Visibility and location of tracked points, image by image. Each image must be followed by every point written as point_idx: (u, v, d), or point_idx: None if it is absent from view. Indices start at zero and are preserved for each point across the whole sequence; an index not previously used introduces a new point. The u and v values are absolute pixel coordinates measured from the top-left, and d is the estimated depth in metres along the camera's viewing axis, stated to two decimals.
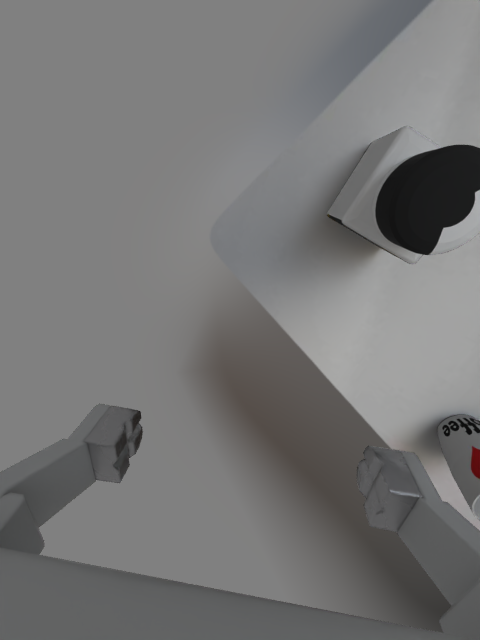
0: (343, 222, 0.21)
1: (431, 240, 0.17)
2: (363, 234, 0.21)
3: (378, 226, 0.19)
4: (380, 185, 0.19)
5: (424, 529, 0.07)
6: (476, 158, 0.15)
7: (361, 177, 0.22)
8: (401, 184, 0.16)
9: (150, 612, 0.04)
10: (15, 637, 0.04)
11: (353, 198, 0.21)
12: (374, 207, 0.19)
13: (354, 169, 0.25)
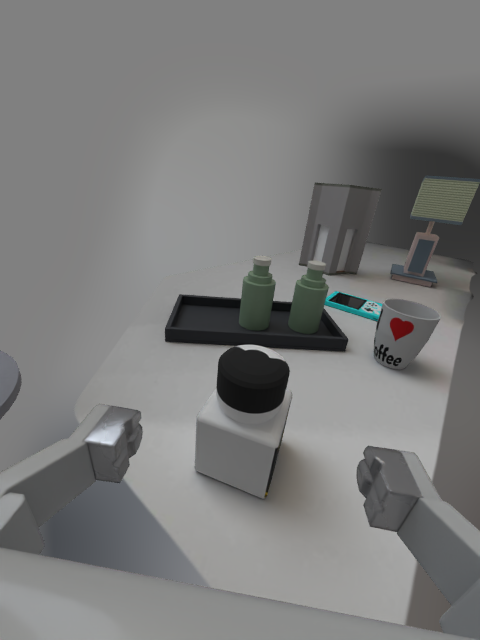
0: (277, 445, 0.21)
1: (279, 361, 0.23)
2: (282, 427, 0.23)
3: (275, 408, 0.22)
4: (243, 416, 0.22)
5: (424, 529, 0.07)
6: (226, 355, 0.23)
7: (232, 451, 0.23)
8: (246, 384, 0.20)
9: (150, 612, 0.04)
10: (15, 637, 0.04)
11: (253, 445, 0.22)
12: (260, 415, 0.22)
13: (218, 479, 0.25)
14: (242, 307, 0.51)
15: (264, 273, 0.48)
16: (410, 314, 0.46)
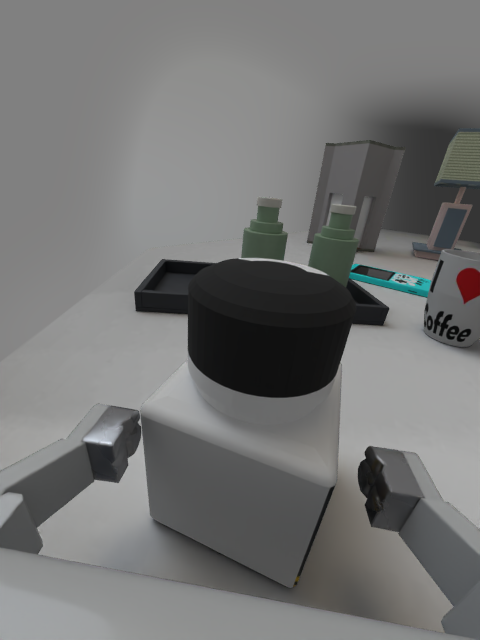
0: (334, 479, 0.08)
1: (330, 278, 0.10)
2: (337, 432, 0.10)
3: (323, 385, 0.09)
4: (246, 403, 0.09)
5: (426, 529, 0.07)
6: (208, 267, 0.10)
7: (221, 487, 0.10)
8: (255, 315, 0.07)
9: (150, 612, 0.04)
10: (15, 637, 0.04)
11: (272, 476, 0.09)
12: (290, 402, 0.09)
13: (196, 540, 0.12)
14: None
15: (272, 219, 0.35)
16: None
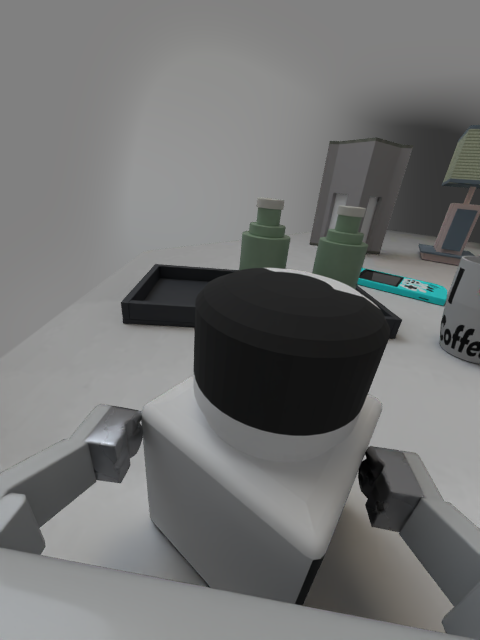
0: (320, 551, 0.06)
1: (361, 300, 0.08)
2: (346, 490, 0.08)
3: (331, 429, 0.07)
4: (234, 430, 0.08)
5: (426, 529, 0.07)
6: None
7: (204, 513, 0.09)
8: (244, 334, 0.06)
9: (150, 612, 0.04)
10: (15, 637, 0.04)
11: (251, 521, 0.07)
12: (283, 441, 0.07)
13: (185, 558, 0.11)
14: None
15: (274, 221, 0.32)
16: None
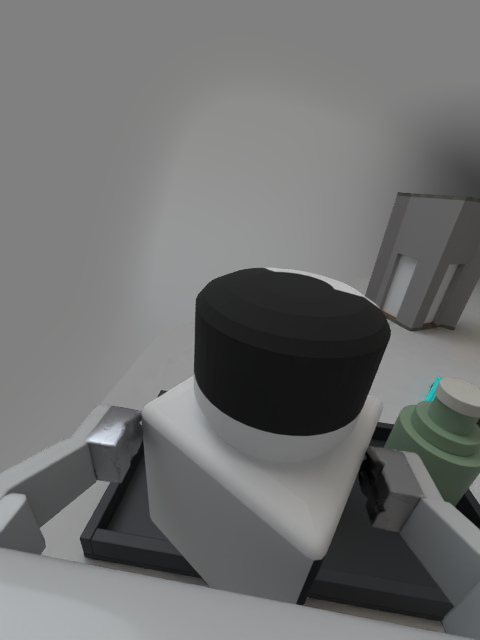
0: (321, 552, 0.06)
1: (361, 300, 0.08)
2: (346, 490, 0.08)
3: (331, 429, 0.07)
4: (234, 430, 0.08)
5: (426, 529, 0.07)
6: (226, 275, 0.10)
7: (205, 514, 0.09)
8: (245, 334, 0.06)
9: (150, 612, 0.04)
10: (15, 637, 0.04)
11: (251, 521, 0.07)
12: (284, 441, 0.07)
13: (185, 558, 0.11)
14: None
15: None
16: None
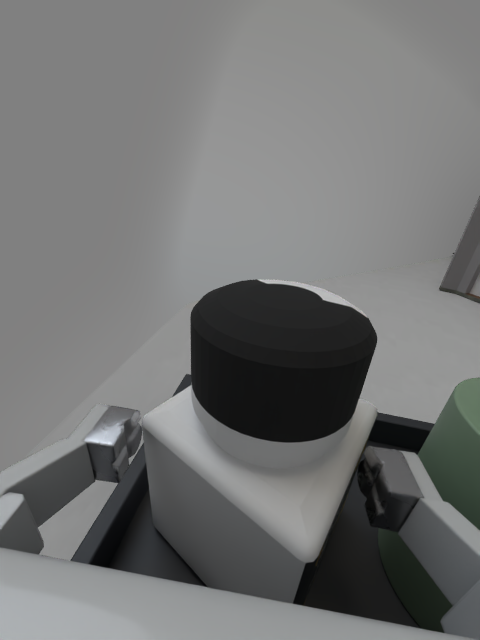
0: (313, 554, 0.07)
1: (349, 310, 0.08)
2: (339, 494, 0.08)
3: (322, 435, 0.08)
4: (229, 438, 0.08)
5: (425, 529, 0.07)
6: (220, 288, 0.10)
7: (204, 519, 0.09)
8: (235, 346, 0.07)
9: (150, 612, 0.04)
10: (15, 637, 0.04)
11: (247, 526, 0.08)
12: (276, 447, 0.08)
13: None
14: None
15: None
16: None
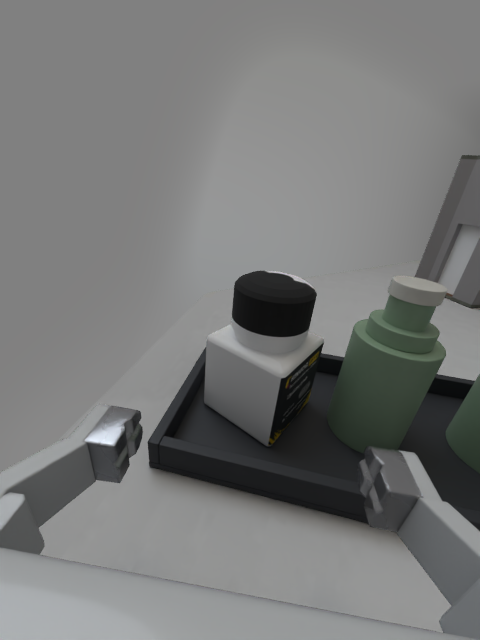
0: (284, 375, 0.18)
1: (304, 284, 0.19)
2: (297, 362, 0.19)
3: (290, 335, 0.19)
4: (251, 337, 0.19)
5: (424, 529, 0.07)
6: (246, 274, 0.21)
7: (237, 380, 0.20)
8: (256, 295, 0.18)
9: (150, 612, 0.04)
10: (15, 637, 0.04)
11: (258, 372, 0.19)
12: (271, 339, 0.19)
13: (224, 416, 0.23)
14: (344, 395, 0.21)
15: (421, 324, 0.18)
16: None
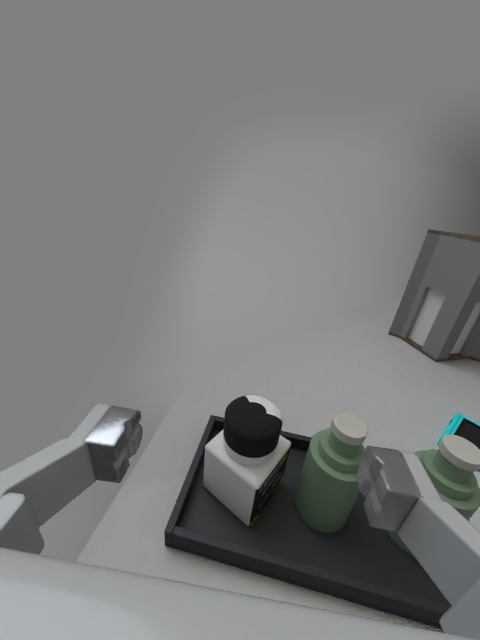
0: (257, 487, 0.26)
1: (273, 418, 0.27)
2: (268, 473, 0.27)
3: (263, 456, 0.27)
4: (236, 455, 0.27)
5: (424, 529, 0.07)
6: (233, 403, 0.29)
7: (226, 480, 0.29)
8: (238, 433, 0.26)
9: (150, 612, 0.04)
10: (15, 637, 0.04)
11: (240, 481, 0.27)
12: (249, 459, 0.27)
13: (218, 499, 0.31)
14: (303, 489, 0.29)
15: (351, 453, 0.26)
16: None
